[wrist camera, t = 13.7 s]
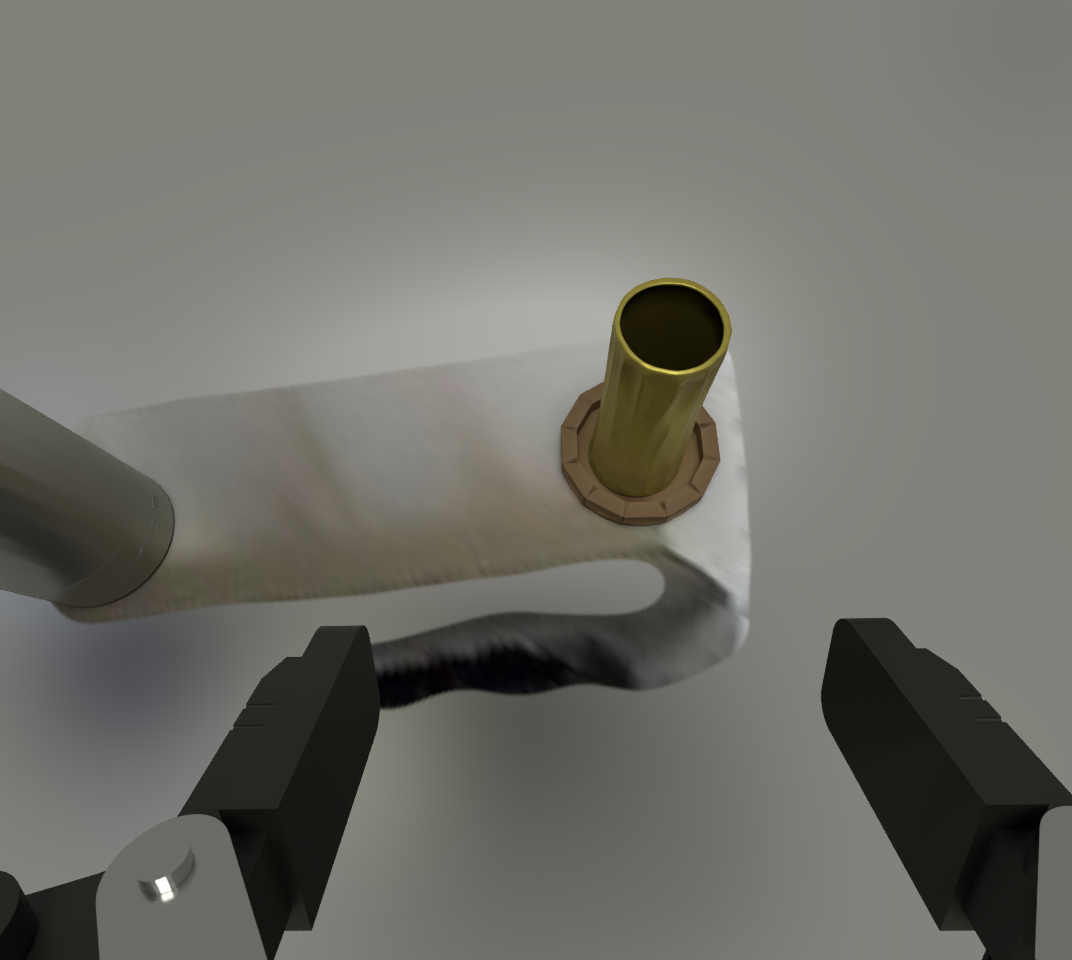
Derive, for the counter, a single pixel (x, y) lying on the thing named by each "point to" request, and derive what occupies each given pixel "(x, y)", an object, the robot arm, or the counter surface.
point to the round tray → (628, 509)
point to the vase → (656, 382)
